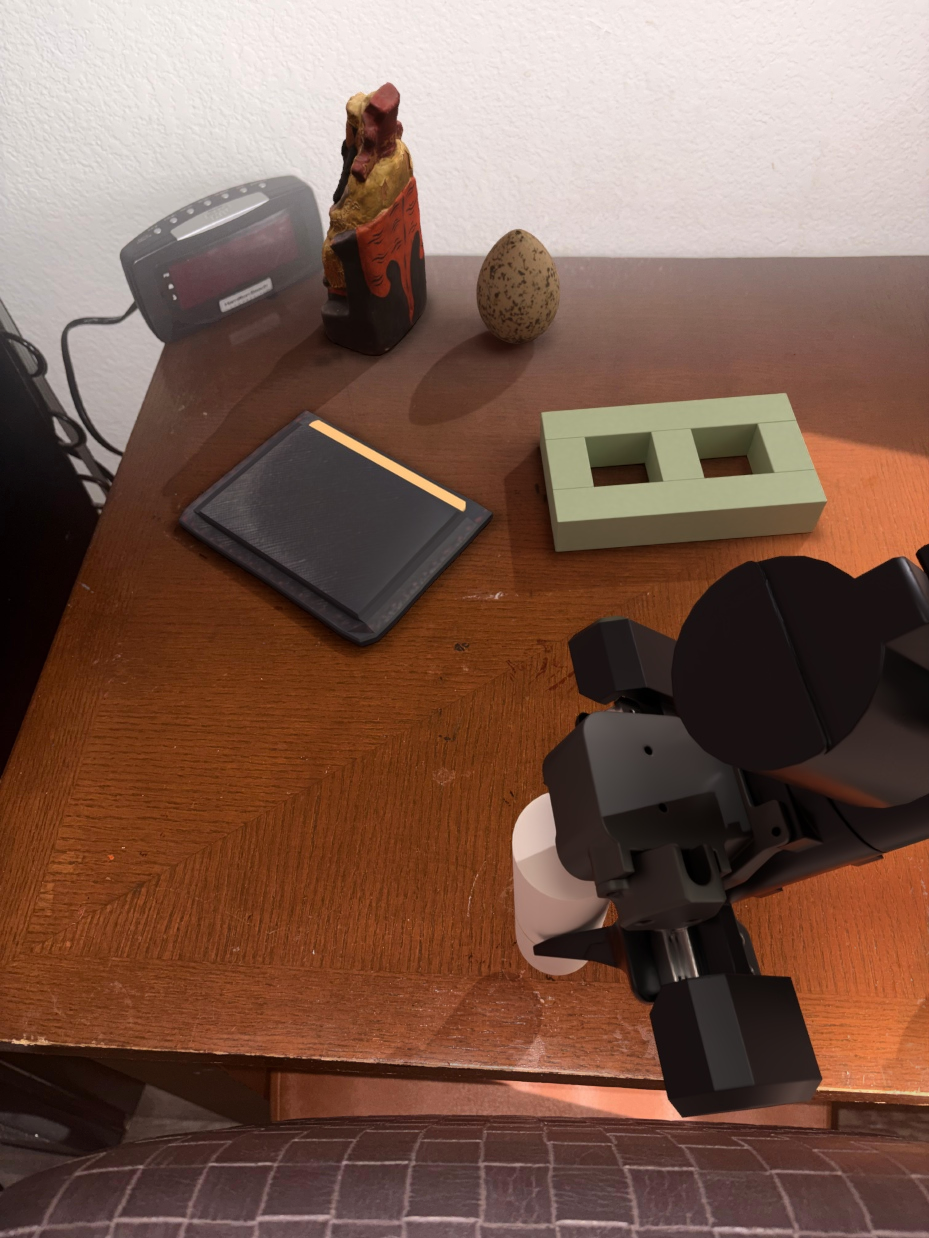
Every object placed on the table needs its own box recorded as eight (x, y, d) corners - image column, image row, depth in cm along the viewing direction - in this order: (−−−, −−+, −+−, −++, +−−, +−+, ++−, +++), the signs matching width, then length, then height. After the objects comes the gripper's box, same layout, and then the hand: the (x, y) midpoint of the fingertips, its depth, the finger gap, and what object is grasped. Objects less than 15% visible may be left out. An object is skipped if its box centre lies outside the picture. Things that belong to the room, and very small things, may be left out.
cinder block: (539, 444, 68) (540, 411, 65) (774, 425, 68) (786, 392, 65) (555, 552, 62) (557, 522, 59) (813, 532, 62) (827, 501, 59)
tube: (572, 992, 43) (592, 923, 31) (500, 946, 45) (491, 862, 32) (610, 918, 45) (644, 824, 32) (540, 876, 46) (546, 770, 34)
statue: (374, 275, 81) (337, 45, 65) (444, 299, 79) (425, 66, 62) (299, 351, 76) (238, 120, 59) (372, 379, 74) (330, 147, 57)
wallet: (166, 506, 64) (307, 394, 70) (175, 522, 66) (312, 411, 72) (357, 644, 57) (497, 505, 63) (361, 658, 58) (498, 521, 64)
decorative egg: (472, 359, 74) (467, 257, 66) (484, 307, 78) (480, 204, 70) (553, 364, 73) (558, 261, 65) (561, 311, 77) (567, 207, 69)
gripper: (641, 481, 29) (374, 676, 39) (831, 1088, 19) (409, 1157, 28) (802, 581, 36) (542, 727, 45) (1005, 1070, 26) (618, 1130, 35)
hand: (531, 898), depth 38 cm, fingers closed on tube, 4 cm apart
